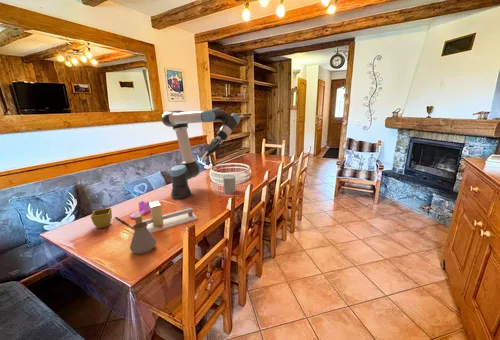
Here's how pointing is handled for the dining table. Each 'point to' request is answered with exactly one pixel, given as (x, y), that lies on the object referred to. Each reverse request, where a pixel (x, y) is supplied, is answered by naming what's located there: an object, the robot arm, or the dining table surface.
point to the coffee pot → (140, 238)
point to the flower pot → (102, 217)
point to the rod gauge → (168, 219)
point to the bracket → (142, 208)
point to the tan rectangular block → (156, 213)
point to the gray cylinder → (229, 184)
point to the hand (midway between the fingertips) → (202, 160)
